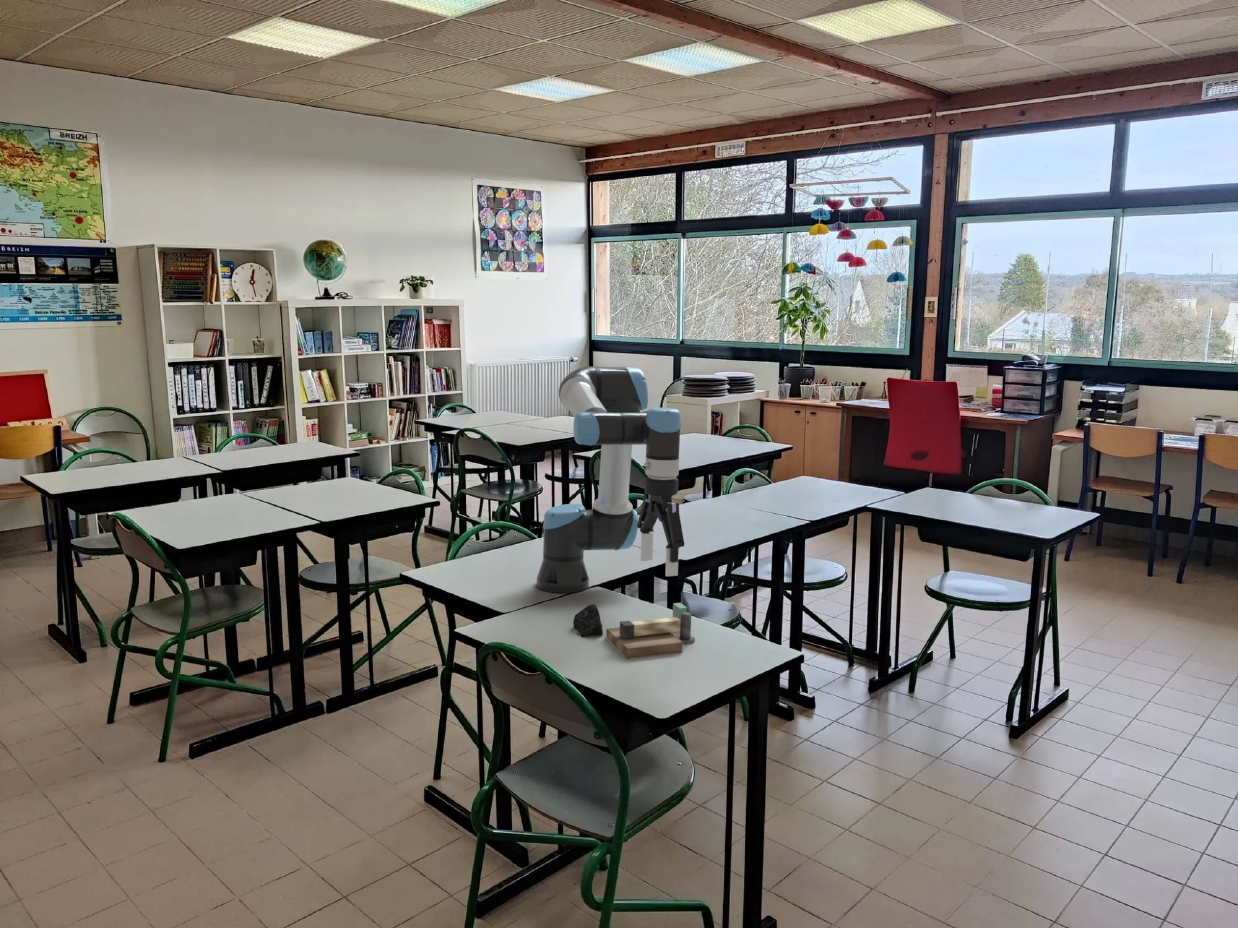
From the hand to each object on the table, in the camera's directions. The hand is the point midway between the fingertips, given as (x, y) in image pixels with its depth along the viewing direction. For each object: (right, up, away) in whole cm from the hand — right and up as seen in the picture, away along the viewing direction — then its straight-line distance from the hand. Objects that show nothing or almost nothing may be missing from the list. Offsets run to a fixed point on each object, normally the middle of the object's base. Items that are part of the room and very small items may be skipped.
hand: (658, 567), depth 215 cm
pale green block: (+6, -18, +24) cm, 31 cm away
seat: (0, -20, +12) cm, 23 cm away
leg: (-2, -17, +11) cm, 20 cm away
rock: (-16, -18, +20) cm, 32 cm away
